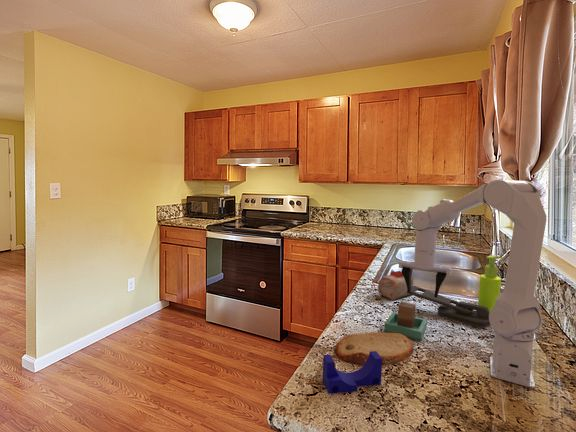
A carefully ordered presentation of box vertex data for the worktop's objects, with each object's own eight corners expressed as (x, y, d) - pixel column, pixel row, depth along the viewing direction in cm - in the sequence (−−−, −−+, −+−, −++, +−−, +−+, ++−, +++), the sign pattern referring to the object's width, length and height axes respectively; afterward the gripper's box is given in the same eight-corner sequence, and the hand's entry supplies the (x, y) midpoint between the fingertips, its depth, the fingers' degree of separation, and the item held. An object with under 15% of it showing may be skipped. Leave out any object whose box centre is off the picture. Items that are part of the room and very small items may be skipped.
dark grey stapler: (412, 284, 118) (493, 300, 102) (411, 302, 118) (491, 320, 103) (404, 290, 111) (489, 308, 95) (403, 309, 111) (487, 330, 96)
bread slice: (414, 344, 87) (415, 330, 86) (408, 380, 71) (409, 364, 70) (349, 330, 95) (350, 317, 94) (330, 359, 78) (331, 344, 78)
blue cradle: (328, 394, 65) (329, 366, 64) (322, 381, 69) (323, 354, 69) (384, 389, 67) (385, 362, 66) (374, 376, 71) (376, 351, 71)
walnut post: (411, 332, 92) (413, 308, 91) (397, 328, 94) (398, 305, 93) (414, 327, 95) (415, 304, 95) (400, 323, 98) (401, 301, 97)
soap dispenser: (504, 317, 105) (509, 257, 103) (489, 320, 103) (494, 258, 101) (487, 310, 111) (492, 253, 109) (473, 313, 108) (477, 254, 106)
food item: (393, 302, 117) (394, 276, 116) (375, 296, 124) (377, 271, 123) (415, 295, 125) (416, 270, 124) (397, 290, 132) (399, 266, 131)
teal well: (420, 340, 88) (421, 332, 88) (384, 331, 93) (384, 323, 93) (426, 327, 96) (427, 319, 96) (392, 319, 102) (392, 312, 101)
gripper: (453, 251, 97) (450, 294, 98) (403, 245, 104) (400, 286, 105) (451, 255, 91) (447, 301, 92) (398, 249, 98) (395, 292, 99)
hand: (422, 294), depth 98 cm, fingers open, 7 cm apart
